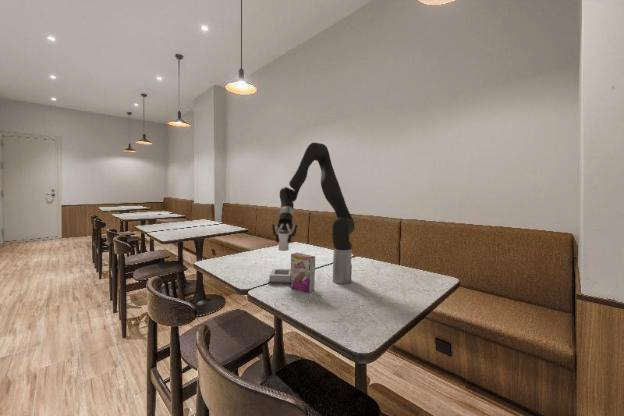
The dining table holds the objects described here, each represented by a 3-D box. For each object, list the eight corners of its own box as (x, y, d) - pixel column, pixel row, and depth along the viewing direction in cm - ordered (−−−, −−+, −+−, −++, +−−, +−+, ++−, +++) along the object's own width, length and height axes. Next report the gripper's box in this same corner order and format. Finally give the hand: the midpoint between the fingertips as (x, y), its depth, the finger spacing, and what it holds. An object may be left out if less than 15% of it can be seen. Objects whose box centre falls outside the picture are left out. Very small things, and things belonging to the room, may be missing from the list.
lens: (289, 248, 142) (289, 229, 141) (288, 250, 137) (288, 231, 136) (279, 248, 142) (279, 229, 141) (277, 250, 137) (278, 231, 136)
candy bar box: (289, 287, 129) (290, 254, 127) (295, 284, 133) (296, 252, 132) (309, 293, 123) (310, 258, 121) (314, 289, 127) (315, 255, 126)
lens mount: (294, 276, 145) (294, 268, 144) (292, 284, 133) (292, 276, 132) (271, 275, 145) (271, 268, 144) (268, 284, 133) (268, 275, 132)
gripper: (272, 211, 146) (268, 237, 135) (298, 212, 145) (297, 238, 134) (273, 220, 151) (270, 245, 140) (299, 220, 151) (297, 246, 140)
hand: (283, 242), depth 137 cm, fingers closed on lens, 5 cm apart
